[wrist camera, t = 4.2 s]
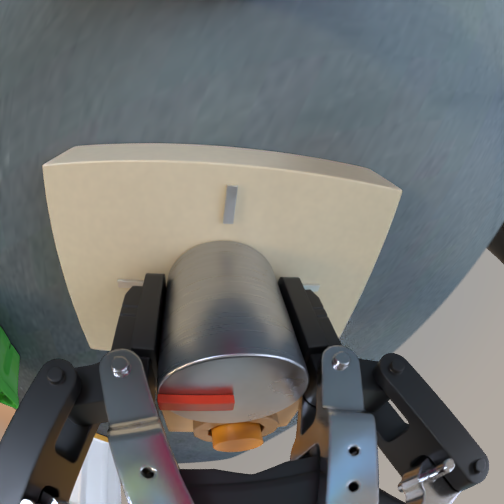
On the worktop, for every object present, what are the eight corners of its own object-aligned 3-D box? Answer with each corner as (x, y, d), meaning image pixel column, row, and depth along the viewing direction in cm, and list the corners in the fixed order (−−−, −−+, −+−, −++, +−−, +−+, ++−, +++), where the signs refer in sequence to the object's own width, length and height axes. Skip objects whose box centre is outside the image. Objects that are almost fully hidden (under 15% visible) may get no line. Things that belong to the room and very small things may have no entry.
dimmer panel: (368, 168, 12) (405, 191, 10) (318, 314, 18) (334, 351, 15) (74, 145, 10) (39, 166, 7) (101, 311, 15) (89, 351, 12)
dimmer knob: (284, 242, 10) (336, 357, 6) (264, 322, 13) (290, 425, 8) (165, 237, 9) (143, 364, 5) (170, 321, 12) (165, 431, 7)
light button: (263, 417, 18) (267, 436, 17) (255, 433, 20) (259, 449, 19) (211, 420, 18) (213, 440, 16) (210, 435, 20) (212, 452, 18)
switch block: (310, 356, 21) (325, 398, 17) (282, 408, 26) (290, 440, 23) (155, 360, 18) (152, 408, 15) (168, 412, 23) (169, 447, 20)
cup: (84, 446, 31) (81, 528, 17) (44, 419, 25) (35, 518, 10) (138, 452, 32) (143, 543, 18) (103, 428, 26) (102, 543, 11)
